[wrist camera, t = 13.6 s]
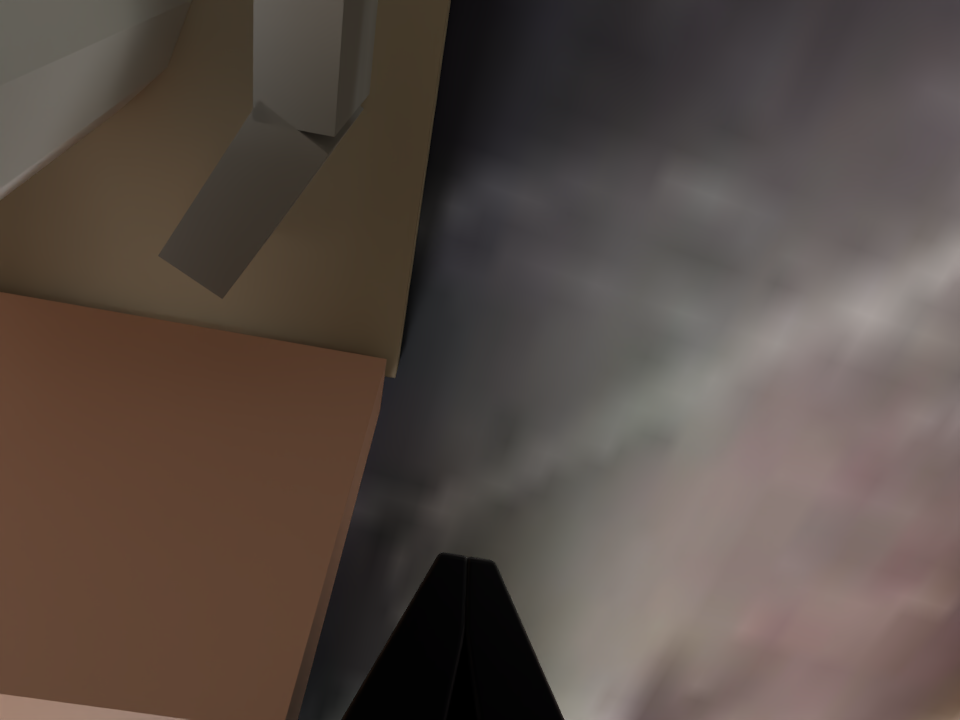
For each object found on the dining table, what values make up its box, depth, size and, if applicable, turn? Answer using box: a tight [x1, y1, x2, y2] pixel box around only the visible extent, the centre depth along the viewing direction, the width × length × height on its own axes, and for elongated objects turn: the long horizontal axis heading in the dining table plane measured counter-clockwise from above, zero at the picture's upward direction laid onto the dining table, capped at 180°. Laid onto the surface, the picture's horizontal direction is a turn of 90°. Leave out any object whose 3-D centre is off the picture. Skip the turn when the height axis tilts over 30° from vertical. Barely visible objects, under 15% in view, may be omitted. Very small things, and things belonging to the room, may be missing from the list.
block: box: [0, 292, 387, 720], centre depth 10 cm, size 8×1×7 cm, turn 80°
